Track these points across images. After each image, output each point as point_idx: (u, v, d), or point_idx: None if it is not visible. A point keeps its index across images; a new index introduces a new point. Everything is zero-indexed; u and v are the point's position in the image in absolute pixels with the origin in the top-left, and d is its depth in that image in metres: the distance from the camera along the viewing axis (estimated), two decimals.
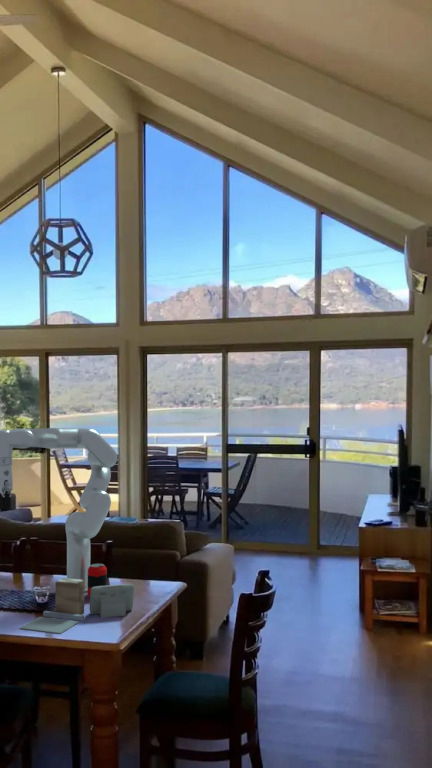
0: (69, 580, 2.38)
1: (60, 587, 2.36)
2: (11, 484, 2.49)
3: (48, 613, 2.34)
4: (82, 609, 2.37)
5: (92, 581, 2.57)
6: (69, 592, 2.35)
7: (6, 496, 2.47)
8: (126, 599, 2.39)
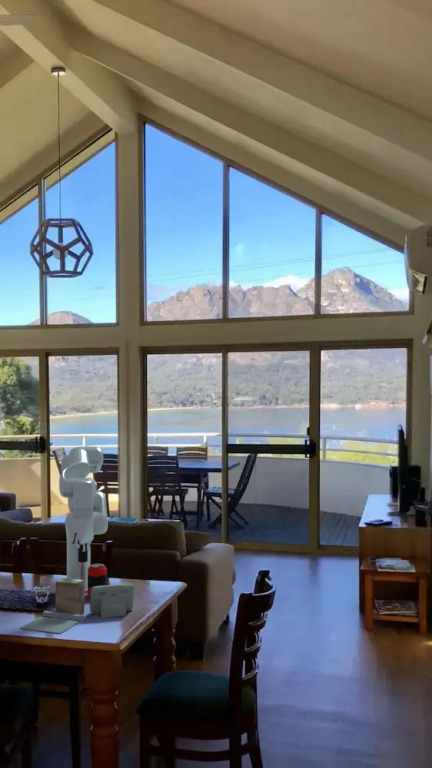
0: (69, 580, 2.38)
1: (60, 587, 2.36)
2: None
3: (48, 613, 2.34)
4: (82, 609, 2.37)
5: (92, 581, 2.57)
6: (69, 592, 2.35)
7: None
8: (126, 599, 2.39)
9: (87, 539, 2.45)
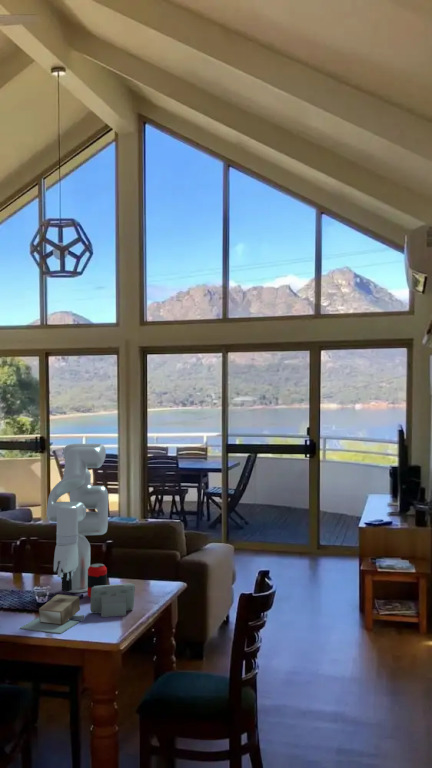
0: (49, 617, 2.25)
1: None
2: None
3: None
4: (76, 602, 2.33)
5: (92, 581, 2.57)
6: None
7: None
8: (127, 599, 2.39)
9: (71, 567, 2.35)
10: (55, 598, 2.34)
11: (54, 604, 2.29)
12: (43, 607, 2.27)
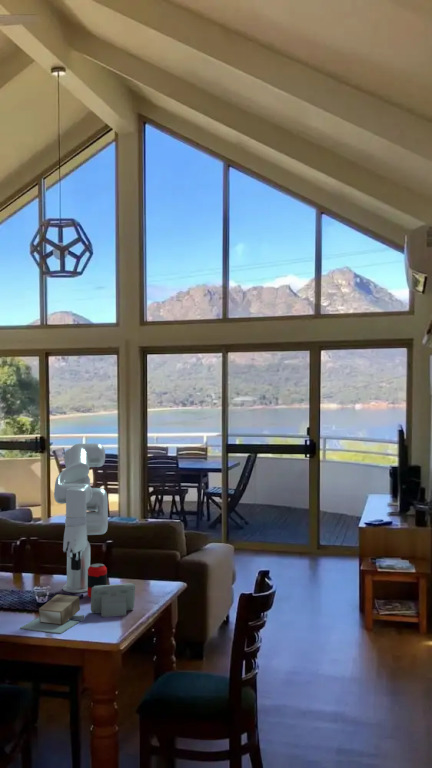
0: (49, 617, 2.25)
1: None
2: None
3: None
4: (76, 602, 2.33)
5: (92, 581, 2.57)
6: None
7: None
8: (127, 599, 2.39)
9: (80, 547, 2.41)
10: (55, 598, 2.34)
11: (54, 604, 2.29)
12: (43, 607, 2.27)
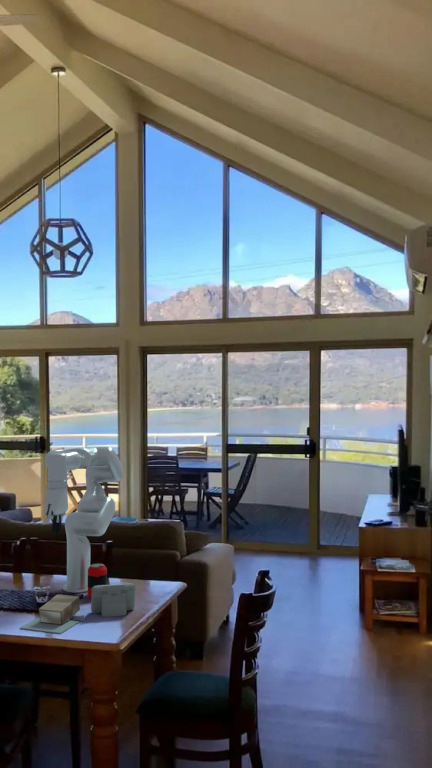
0: (49, 617, 2.25)
1: None
2: None
3: None
4: (76, 602, 2.33)
5: (92, 581, 2.57)
6: None
7: None
8: (127, 599, 2.40)
9: (61, 510, 2.51)
10: (55, 598, 2.34)
11: (54, 604, 2.29)
12: (43, 607, 2.27)
